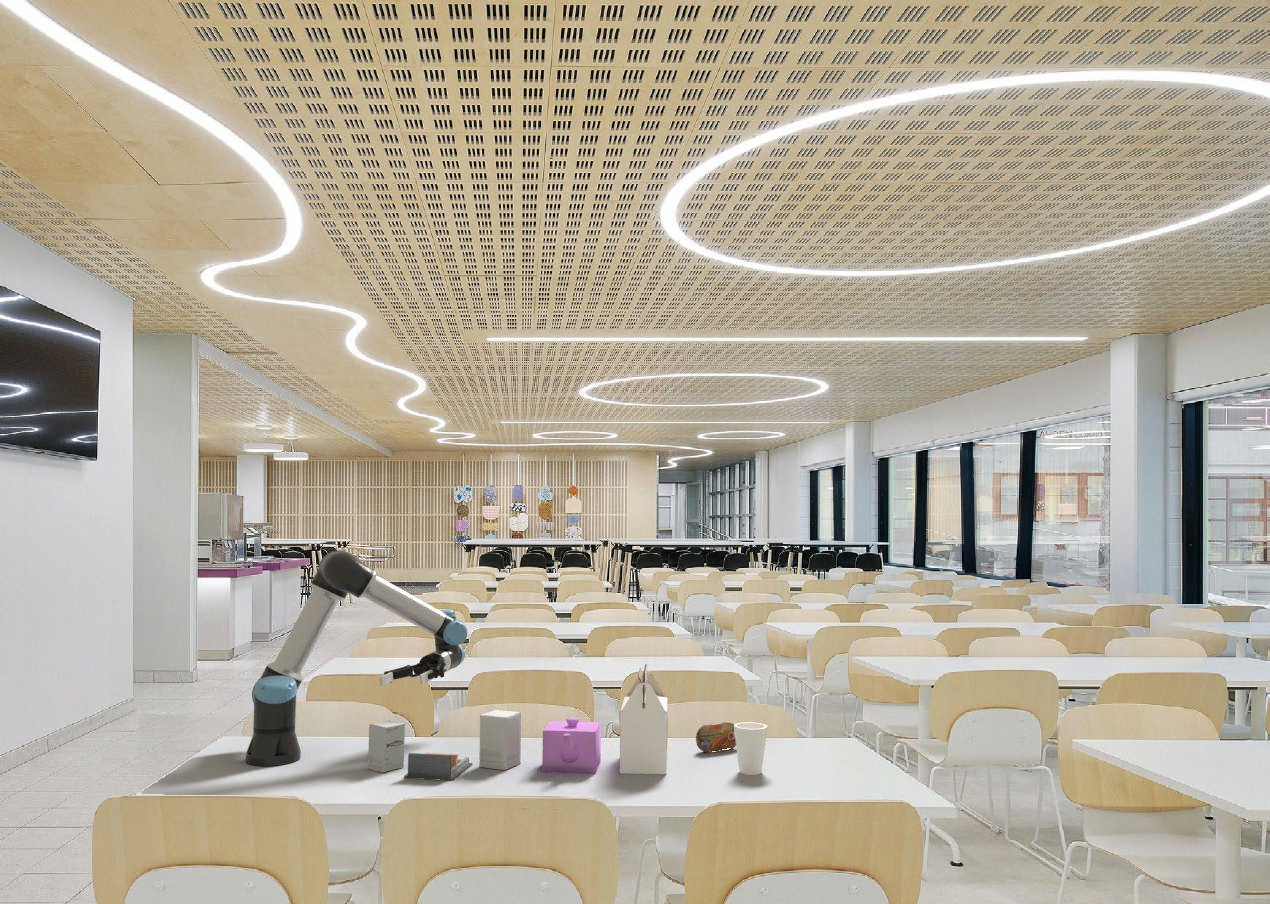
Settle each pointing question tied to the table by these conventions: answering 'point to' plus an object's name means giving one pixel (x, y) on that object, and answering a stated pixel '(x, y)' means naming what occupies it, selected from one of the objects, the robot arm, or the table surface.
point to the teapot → (571, 746)
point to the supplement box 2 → (500, 739)
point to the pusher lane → (435, 766)
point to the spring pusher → (453, 758)
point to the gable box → (644, 728)
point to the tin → (716, 737)
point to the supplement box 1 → (386, 746)
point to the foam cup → (750, 746)
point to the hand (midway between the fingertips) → (400, 680)
